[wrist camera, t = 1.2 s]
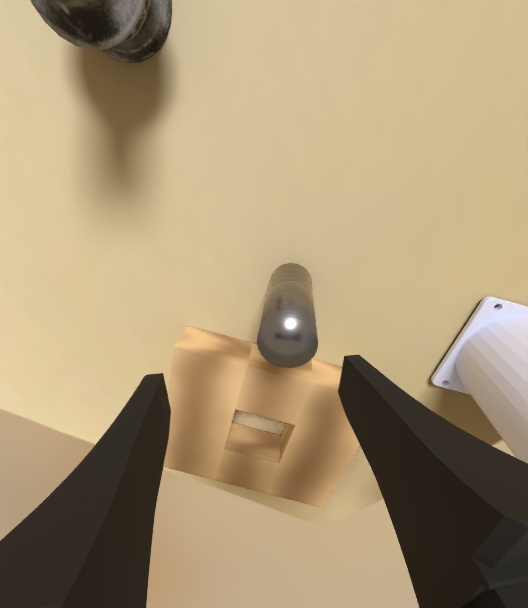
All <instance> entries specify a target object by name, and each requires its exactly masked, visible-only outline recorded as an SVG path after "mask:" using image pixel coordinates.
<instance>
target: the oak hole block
mask: <svg viewBox="0 0 528 608" xmlns="http://www.w3.org/2000/svg"><path fill="white" fill-rule="evenodd" d="M341 372H342V367H339V366H335V365H332V364H328V363H324V362H320V361H317V360H313V359H311V360H310V361H309V362H307V363H306V364H304V365H302V366H299V367H295V368H282V367H278V366H275V365H273V364H271V363H269V362H268V361H267V360H265V359H264V358H263V356H262V355H261V354H260V352H259V349H258V346H257V344H253V343H249V342H246V341H242V340H238V339H234V338H231V337H227V336H223V335H220V334H216V333H212V332H208V331H205V330H201V329H197V328H193V327H190V326H188V327H187V328H186V330H185V331H184V333H183V334H182V336H181V337H180V339H179V340H178V342H177V344H176V345H175V347H174V353H173V361H172V368H171V376H170V383H169V391H168V399H169V403H170V408H171V418H170V431H169V439H168V445H167V450H166V455H165V460H164V465H163V467H166V468H170V469H174V470H178V471H182V472H186V473H190V474H193V475H197V476H201V477H205V478H209V479H213V480H217V481H220V482H224V483H228V484H232V485H236V486H240V487H244V488H247V489H251V490H255V491H259V492H263V493H267V494H271V495H274V496H278V497H282V498H286V499H290V500H294V501H298V502H301V503H305V504H309V505H313V506H317V507H321V508H323V506H324V505H325V503H326V501H327V500H328V498H329V496H330V495H331V493H332V491H333V489H334V488H335V486H336V484H337V483H338V481H339V479H340V478H341V476H342V474H343V473H344V471H345V469H346V467H347V466H348V464H349V462H350V461H351V459H352V457H353V456H354V454H355V452H356V451H357V449H358V447H359V445H360V444H359V442H358V440H357V438H356V436H355V434H354V431H353V429H352V427H351V425H350V423H349V421H348V419H347V417H346V414H345V412H344V409H343V406H342V403H341V400H340V397H339V394H338V388H339V383H340V378H341ZM235 409H236V410H240V411H243V412H247V413H251V414H255V415H259V416H262V417H266V418H270V419H274V420H278V421H281V422H285V423H286V424H285V426H284V429H283V431H282V434H281V435H277V434H273V433H269V432H266V431H262V430H258V429H254V428H250V427H247V426H243V425H239V424H235V423H231V422H232V419H233V415H234V412H235Z"/></svg>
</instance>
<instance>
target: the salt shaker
mask: <svg viewBox="0 0 528 608" xmlns="http://www.w3.org/2000/svg"><path fill="white" fill-rule="evenodd" d="M31 2H32V4H33V6H34V7H35V8H36V10H37V11H38V13H39V14H40V15H41V17H42V18H43V20H44V21H45V22H46V23H47V24H48V25H49V26H50V27H51V28H52V29H53V30H54V31H55V32H56V33H57V34H58V35H59V36H60V37H62V38H64V39H66V40H67V41H69V42H71V43H72V44H74V45H76V46H78V47H82V48H86V49H90V50H101V49H102V50H103V51H104V52H105V53H107V54H108V55H110V56H112V57H113V58H115V59H117V60H120V61H124V62H128V63H132V62H141V61H143V60H146V59H148V58H150V57H151V56H153V55H154V54H155V53H156V52H157V51H158V50H159V49H160V47H161V46H162V44H163V42H164V40H165V39H166V37H167V34H168V30H169V27H170V23H171V13H172V0H31Z"/></svg>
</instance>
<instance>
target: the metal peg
mask: <svg viewBox="0 0 528 608" xmlns="http://www.w3.org/2000/svg"><path fill="white" fill-rule="evenodd" d="M257 346H258V349H259V352H260V354H261V355H262V356H263V358H264V359H265V360H267V361H268V362H269V363H271V364H273V365H275V366H278V367H282V368H295V367H299V366H302V365H304V364H306V363H307V362H309V361H310V360H311V359H312V358H313V356H314V355H315V353H316V351H317V347H318V339H317V329H316V319H315V310H314V300H313V290H312V281H311V276H310V274H309V272H308V271H307V270H306V269H305V268H304V267H302V266H300V265H298V264H293V263H288V264H284V265H282V266H280V267H278V268H277V269H276V270H275V271H274V272H273V274H272V277H271V280H270V285H269V289H268V294H267V298H266V302H265V307H264V311H263V316H262V320H261V324H260V329H259V333H258V338H257Z"/></svg>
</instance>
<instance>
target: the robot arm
mask: <svg viewBox="0 0 528 608" xmlns="http://www.w3.org/2000/svg"><path fill="white" fill-rule="evenodd" d="M496 304H499V305H498V306H497V307H496V308H494V306H495V305H496ZM445 380H446V382H443V381H445ZM431 381H432V383H433V384H434V385H436V386H439V387H443V388H446V389H450V390H454V391H458V392H461V393H465V394H469V395H471V396H472V397H473V399H474V400H475V401H476V403H477V404H478V406H479V407H480V408H481V410H482V411H483V413H484V414H485V415H486V417H487V418H488V419H489V421H490V422H491V424H492V425H493V426H494V428H495V429H496V430H497V432H498V433H499V435H500V436H501V437H502V439H503V440H504V442H505V443H506V444H507V446H508V447H509V448H510V450H511V451H512V453H513V454H514V455H515V457H516V458H515V457H513V456H511V455H509V454H507V453H505V452H502V451H501V450H499V449H497V448H495V447H493V446H491V445H489V444H487V443H485V442H483V441H481V440H480V439H478V438H476V437H474V436H472V435H470V434H469V433H467V432H465V431H463V430H462V429H460V428H458V427H456V426H455V425H453V424H452V423H450V422H448V421H447V420H445V419H444V418H442V417H440V416H439V415H437V414H436V413H434V412H433V411H431V410H430V409H428V408H427V407H425V406H424V405H422V404H421V403H420V402H418V401H417V400H415V399H414V398H413V397H411V396H410V395H409V394H407V393H406V392H405V391H403V390H402V389H401V388H399V387H398V386H397V385H395V384H394V383H393V382H392V381H390V380H389V379H388V378H387V377H385V376H384V375H383V374H382V373H381V372H379V371H378V370H377V369H376V368H374V367H373V366H372V365H371V364H370V363H368V362H367V361H366V360H365V359H363V358H362V357H361V356H360V355H350V356H344V361H343V367H342V372H341V378H340V383H339V388H338V394H339V397H340V400H341V403H342V406H343V409H344V412H345V414H346V417H347V419H348V421H349V423H350V425H351V427H352V429H353V431H354V434H355V436H356V438H357V440H358V442H359V444H360V446H361V448H362V450H363V452H364V454H365V456H366V458H367V460H368V462H369V464H370V466H371V468H372V471H373V473H374V475H375V477H376V480H377V482H378V485H379V488H380V490H381V493H382V496H383V498H384V501H385V504H386V506H387V509H388V512H389V515H390V518H391V520H392V523H393V526H394V529H395V531H396V534H397V538H398V540H399V543H400V546H401V549H402V553H403V556H404V558H405V562H406V565H407V568H408V571H409V574H410V578H411V581H412V584H413V588H414V591H415V594H416V598H417V601H418V604H419V608H528V307H527V306H524V305H520V304H517V303H513V302H509V301H506V300H502V299H498V298H495V297H486V298H484V299H483V300H482V301H481V302H480V304H479V306H478V307H477V309H476V310H475V312H474V313H473V315H472V316H471V318H470V319H469V321H468V322H467V324H466V325H465V327H464V328H463V330H462V332H461V333H460V335H459V336H458V338H457V339H456V341H455V342H454V344H453V345H452V347H451V348H450V350H449V351H448V353H447V354H446V356H445V358H444V359H443V361H442V362H441V364H440V365H439V367H438V368H437V370H436V371H435V373H434V374H433V376H432V378H431ZM170 418H171V408H170V403H169V399H168V394H167V390H166V385H165V380H164V376H163V373H161V374H150V375H146V376H145V377H144V378H143V379H142V381H141V383H140V384H139V386H138V387H137V389H136V390H135V392H134V393H133V395H132V396H131V398H130V399H129V401H128V402H127V404H126V405H125V407H124V408H123V409H122V411H121V412H120V414H119V415H118V416H117V418H116V419H115V421H114V422H113V423H112V425H111V426H110V427H109V429H108V430H107V431H106V432H105V434H104V435H103V436H102V437H101V439H100V440H99V441H98V442H97V444H96V445H95V446H94V447H93V449H92V450H91V451H90V452H89V454H88V455H87V456H86V457H85V458H84V459H83V460H82V461H81V463H80V464H79V465H78V466H77V467H76V468H75V469H74V470H73V471H72V473H71V474H70V475H69V476H68V477H67V478H66V479H65V480H64V481H63V482H62V483H61V484H60V485H59V486H58V487H57V488H56V489H55V490H54V491H53V492H52V493H51V494H50V495H49V496H48V497H47V498H46V499H45V500H44V501H43V502H42V503H41V504H40V505H39V506H38V507H37V508H36V509H35V510H34V511H33V512H32V513H30V514H29V515H28V516H27V517H26V518H25V519H24V520H23V521H22V522H21V523H20V524H19V525H17V526H16V527H15V528H14V529H13V530H12V531H11V532H10V533H9V534H7V535H6V536H5V537H4V538H3V539H2V540H1V541H0V608H146V601H147V588H148V576H149V575H148V574H149V564H150V554H151V543H152V534H153V525H154V515H155V508H156V501H157V496H158V490H159V486H160V481H161V475H162V471H163V465H164V460H165V455H166V450H167V445H168V439H169V431H170Z"/></svg>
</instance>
